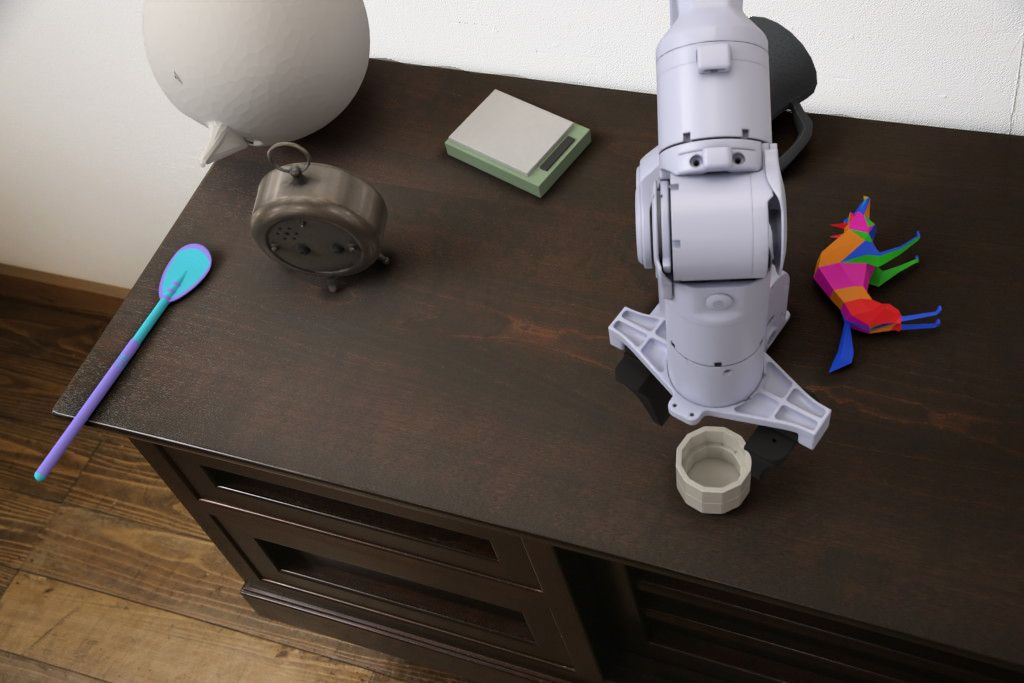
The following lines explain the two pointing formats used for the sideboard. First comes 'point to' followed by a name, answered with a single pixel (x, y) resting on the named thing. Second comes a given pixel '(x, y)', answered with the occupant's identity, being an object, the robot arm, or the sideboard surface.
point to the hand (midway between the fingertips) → (714, 440)
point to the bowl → (713, 470)
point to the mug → (789, 81)
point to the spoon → (137, 338)
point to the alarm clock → (318, 219)
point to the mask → (257, 65)
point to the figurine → (862, 281)
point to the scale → (518, 142)
